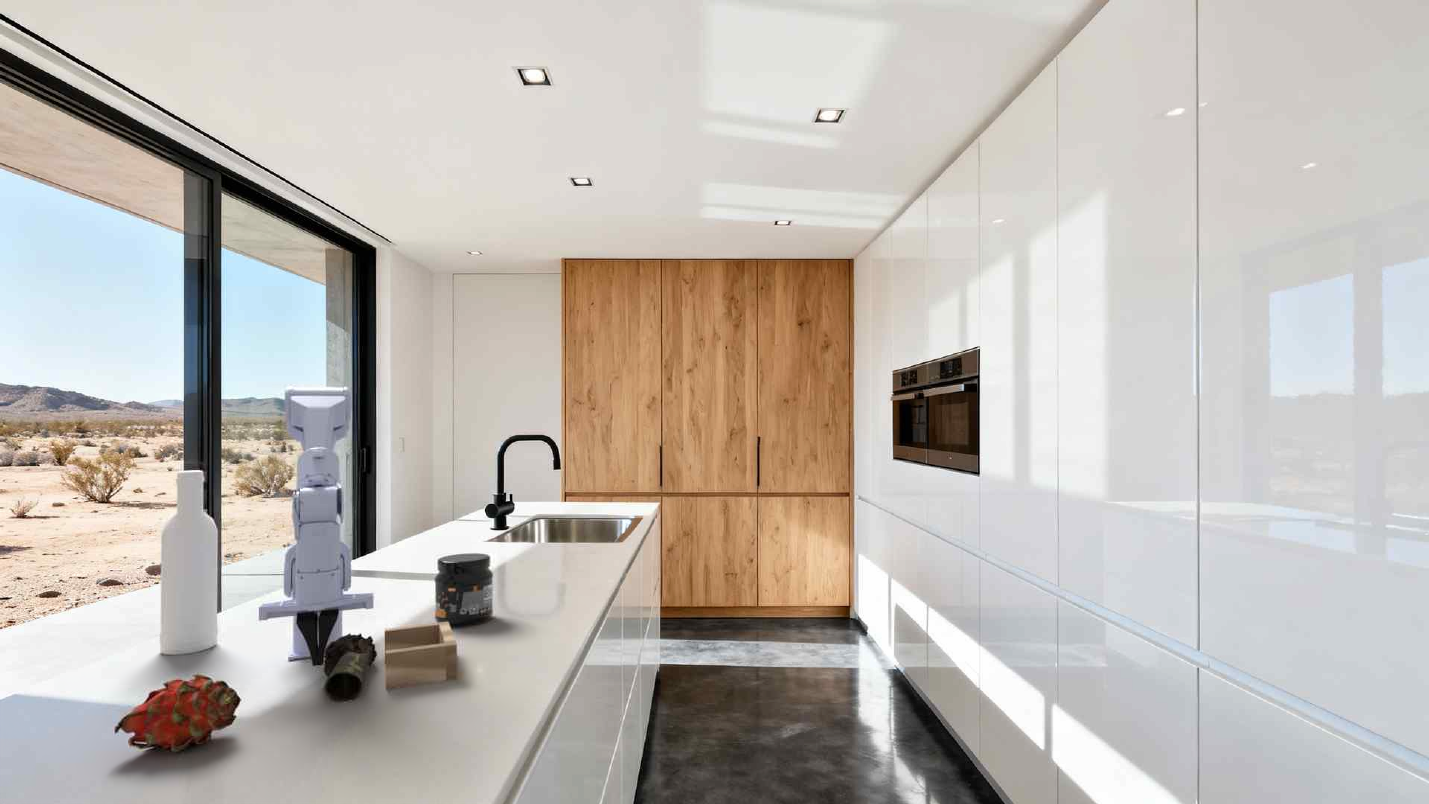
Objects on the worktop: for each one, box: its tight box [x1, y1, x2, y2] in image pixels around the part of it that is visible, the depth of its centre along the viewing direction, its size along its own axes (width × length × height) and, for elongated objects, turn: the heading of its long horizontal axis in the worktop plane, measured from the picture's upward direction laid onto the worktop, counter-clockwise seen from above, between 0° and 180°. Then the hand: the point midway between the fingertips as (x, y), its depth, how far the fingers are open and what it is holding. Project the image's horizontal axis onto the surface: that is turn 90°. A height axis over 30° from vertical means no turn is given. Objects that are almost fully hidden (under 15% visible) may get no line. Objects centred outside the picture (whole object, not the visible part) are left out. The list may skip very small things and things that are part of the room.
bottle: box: [159, 469, 219, 656], centre depth 124 cm, size 8×8×30 cm
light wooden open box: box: [384, 621, 458, 690], centre depth 111 cm, size 14×10×5 cm
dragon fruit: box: [114, 673, 242, 754], centre depth 85 cm, size 8×8×12 cm
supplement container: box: [434, 552, 494, 628], centre depth 138 cm, size 10×10×12 cm
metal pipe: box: [323, 633, 378, 703], centre depth 106 cm, size 18×7×6 cm, turn 18°
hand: (318, 663), depth 105 cm, fingers closed
